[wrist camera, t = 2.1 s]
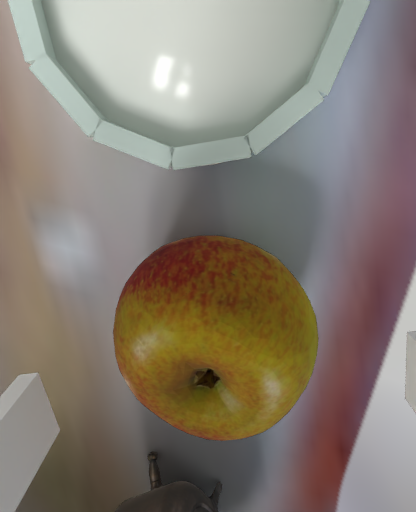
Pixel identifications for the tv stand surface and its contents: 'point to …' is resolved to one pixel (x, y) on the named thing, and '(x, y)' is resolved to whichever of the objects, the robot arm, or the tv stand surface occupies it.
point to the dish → (187, 69)
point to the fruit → (215, 337)
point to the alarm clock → (171, 496)
